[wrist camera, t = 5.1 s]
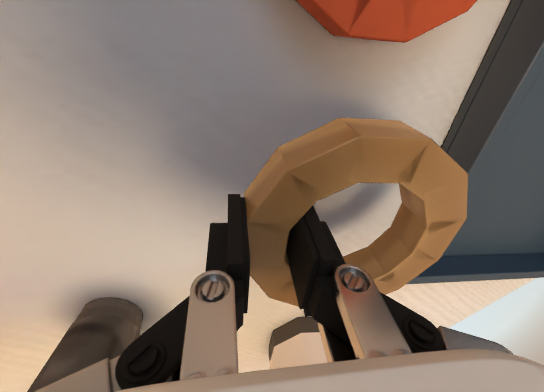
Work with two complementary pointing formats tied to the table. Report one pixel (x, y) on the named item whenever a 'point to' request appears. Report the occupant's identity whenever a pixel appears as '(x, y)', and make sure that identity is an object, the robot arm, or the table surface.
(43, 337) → the table surface
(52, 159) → the table surface
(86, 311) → the beverage cup
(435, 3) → the terracotta ring
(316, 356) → the wine bottle
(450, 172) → the birch ring
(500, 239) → the tray
